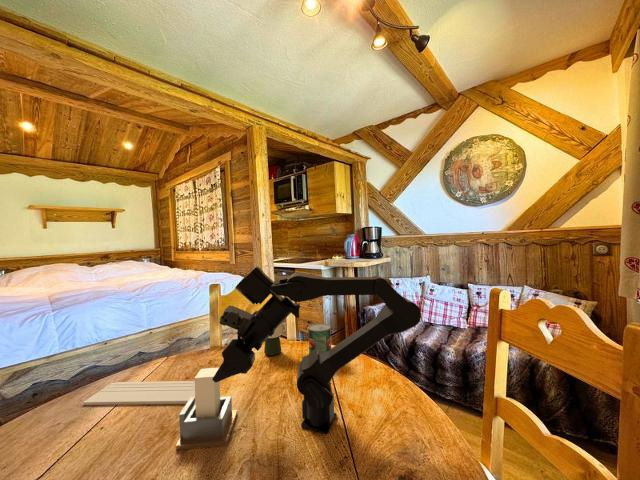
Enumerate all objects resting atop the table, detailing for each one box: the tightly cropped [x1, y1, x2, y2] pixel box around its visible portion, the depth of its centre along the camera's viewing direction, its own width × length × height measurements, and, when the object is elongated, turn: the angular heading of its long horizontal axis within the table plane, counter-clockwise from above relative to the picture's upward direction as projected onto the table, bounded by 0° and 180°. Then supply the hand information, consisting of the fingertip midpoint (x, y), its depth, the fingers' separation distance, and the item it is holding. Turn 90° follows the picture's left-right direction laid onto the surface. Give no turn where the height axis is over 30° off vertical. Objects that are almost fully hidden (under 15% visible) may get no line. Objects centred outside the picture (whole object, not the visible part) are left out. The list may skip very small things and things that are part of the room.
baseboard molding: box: [82, 380, 195, 406], centre depth 76 cm, size 31×3×12 cm
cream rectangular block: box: [194, 367, 221, 418], centre depth 60 cm, size 4×4×12 cm
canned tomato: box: [307, 322, 332, 355], centre depth 94 cm, size 8×8×11 cm
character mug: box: [263, 322, 288, 356], centre depth 99 cm, size 11×7×13 cm, turn 84°
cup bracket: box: [175, 395, 238, 451], centre depth 60 cm, size 10×10×6 cm
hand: (220, 369), depth 60 cm, fingers open, 9 cm apart
